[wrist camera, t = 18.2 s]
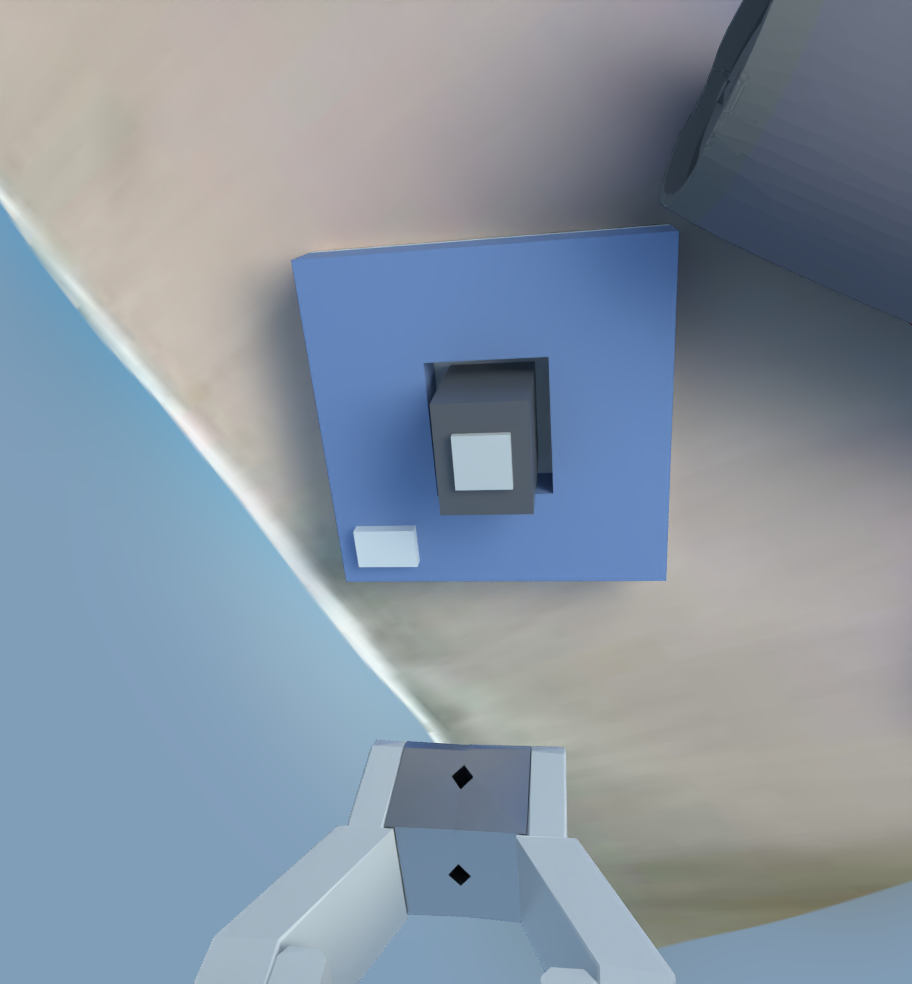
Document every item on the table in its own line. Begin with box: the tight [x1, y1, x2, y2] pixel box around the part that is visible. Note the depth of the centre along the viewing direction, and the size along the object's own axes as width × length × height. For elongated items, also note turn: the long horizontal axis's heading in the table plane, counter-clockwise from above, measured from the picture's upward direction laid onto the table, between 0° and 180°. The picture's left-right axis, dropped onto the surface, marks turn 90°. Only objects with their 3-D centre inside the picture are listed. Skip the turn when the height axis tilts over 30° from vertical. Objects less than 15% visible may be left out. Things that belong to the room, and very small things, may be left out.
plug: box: [429, 361, 539, 515], centre depth 33 cm, size 5×4×6 cm
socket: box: [291, 224, 679, 582], centre depth 34 cm, size 16×16×4 cm
